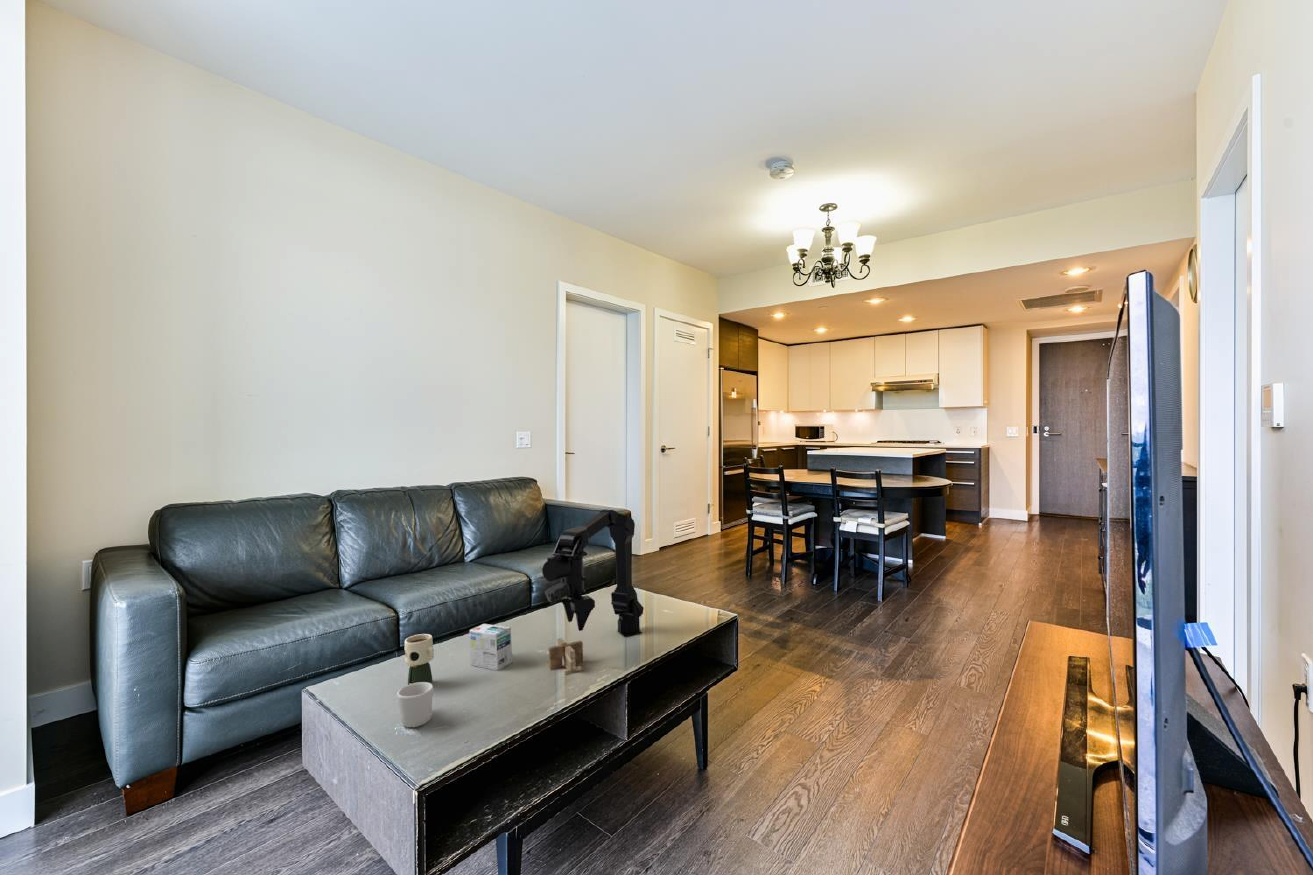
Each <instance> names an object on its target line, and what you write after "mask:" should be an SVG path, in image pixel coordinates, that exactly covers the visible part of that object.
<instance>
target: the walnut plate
mask: <svg viewBox="0 0 1313 875" xmlns="http://www.w3.org/2000/svg"><path fill="white" fill-rule="evenodd" d="M583 642H584V641H582V640H577V641H573V642H569V643H567V642H566V643H567V644H563V645H558V646H557V645H554V646H549V647H548V648H547V649H548V668H549V670H550V671H552V670H557V669H560V668H563V666H564V665H563V664H562V657H563V656H565V647H566V646H570V647H571V648H572V649H573V650H574V651H575V665H577V664H581V663H584V643H583Z"/></svg>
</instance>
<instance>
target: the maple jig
mask: <svg viewBox="0 0 1313 875" xmlns="http://www.w3.org/2000/svg"><path fill="white" fill-rule="evenodd" d="M556 642H557V643H556V644H557V645H556V646H558V645H563V644H567V641H565V639H564V638H562V637H560V638H556ZM562 665H563V666H564V667H565V668H564V669H562V673H563V674H564V675H569V674H572V673H577V672H578V673H579V672H581V671H582V666H580V665H578V666H576V664H575V651H574V650H573V649H572V648H571V647H570V646H566V647H565V656H563V657H562Z"/></svg>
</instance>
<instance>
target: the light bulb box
mask: <svg viewBox="0 0 1313 875" xmlns="http://www.w3.org/2000/svg"><path fill="white" fill-rule="evenodd" d="M511 628H512V627H511V626H503V625H495V624H488V623H482V624H480V625H478V626H475V627H473V628H471V629H469V647H470V648H469V650H470V651H469V653H470V654H469V655H470V666H471V667H479V668H483V669H489V670H493V671H499V670H501V669H503V668H504V667H506V666H508V665H509V664H512V663H513V649H512V647H513V646H512V629H511Z"/></svg>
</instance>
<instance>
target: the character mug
mask: <svg viewBox="0 0 1313 875" xmlns="http://www.w3.org/2000/svg"><path fill="white" fill-rule="evenodd" d="M404 653H405V654H404V655H405V656H404V662H405V664H406V665H407V666H409V668H408V676H407V685H409V684H413V683H418V682H427V683H431V684H432V682H433V675H432V669H431V664H430V663H429V662H431V661H432V660H434V657H435V656H434V655H435V654H434V645H433V636H432V634H429V633H421V634H419V633H418V634H414V635H411V636H409V637H407V638H405V639H404Z"/></svg>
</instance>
